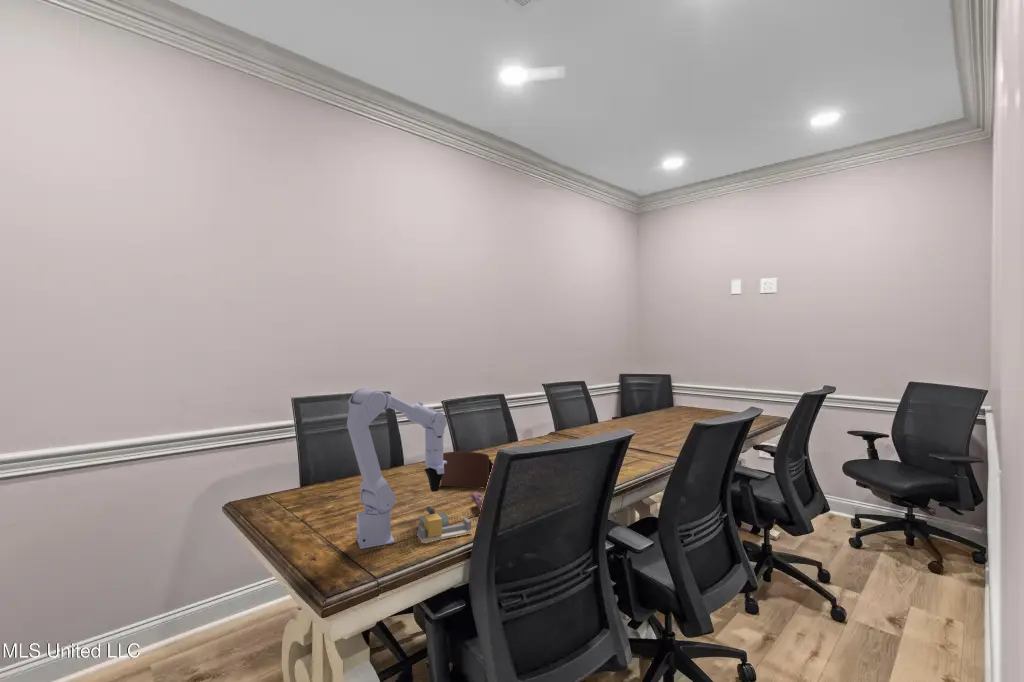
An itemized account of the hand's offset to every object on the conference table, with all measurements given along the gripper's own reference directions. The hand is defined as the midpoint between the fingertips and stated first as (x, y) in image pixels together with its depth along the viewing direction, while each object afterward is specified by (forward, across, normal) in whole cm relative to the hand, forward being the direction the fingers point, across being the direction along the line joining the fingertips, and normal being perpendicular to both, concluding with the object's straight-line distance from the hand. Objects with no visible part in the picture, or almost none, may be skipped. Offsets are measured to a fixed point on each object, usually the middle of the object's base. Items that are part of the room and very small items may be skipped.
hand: (434, 490), depth 152 cm
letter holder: (+10, +32, -23) cm, 41 cm away
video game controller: (+10, +2, -17) cm, 20 cm away
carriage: (+8, -13, +4) cm, 16 cm away
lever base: (+9, -5, +2) cm, 11 cm away
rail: (+9, -13, +1) cm, 16 cm away
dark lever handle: (+6, -3, +2) cm, 7 cm away
